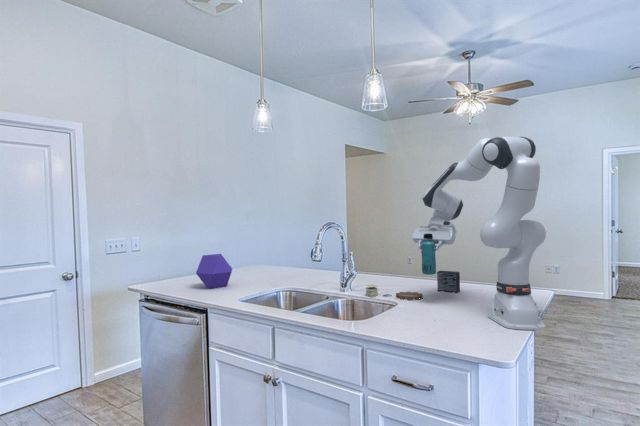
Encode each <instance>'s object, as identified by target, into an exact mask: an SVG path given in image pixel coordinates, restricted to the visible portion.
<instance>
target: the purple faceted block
mask: <svg viewBox="0 0 640 426" xmlns="http://www.w3.org/2000/svg"><path fill="white" fill-rule="evenodd" d="M196 269H197V270H196V275H197V277H198V278H199V279H200V281H201V282H202V283H203V285H205V287H206V289H208V290H211V289H212V290H213V289H219V288H224V287H228V283H229V281H230V279H231V275H232V271H233V268H232V266H231V265H230V264H229V262H228V261H227V259H226V258H225V257H224V256H223V254H222V253H215V254H204V255H203V254H202V256H201V259H200V262H199V264H198V267H197V268H196Z"/></svg>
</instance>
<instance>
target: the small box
mask: <svg viewBox="0 0 640 426" xmlns="http://www.w3.org/2000/svg"><path fill="white" fill-rule="evenodd" d="M460 273H461V272H460V271H455V270H454V271H453V270H452V271H451V270H438V271H436V275H437V278H436V279H437V281H436V282H437V284H436V285H437V292H440V291H444V292H443V293H452V292H455V293H454V294H458V293H460V292H461V285H460V284H461V282H460V279H461V276H460Z"/></svg>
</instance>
